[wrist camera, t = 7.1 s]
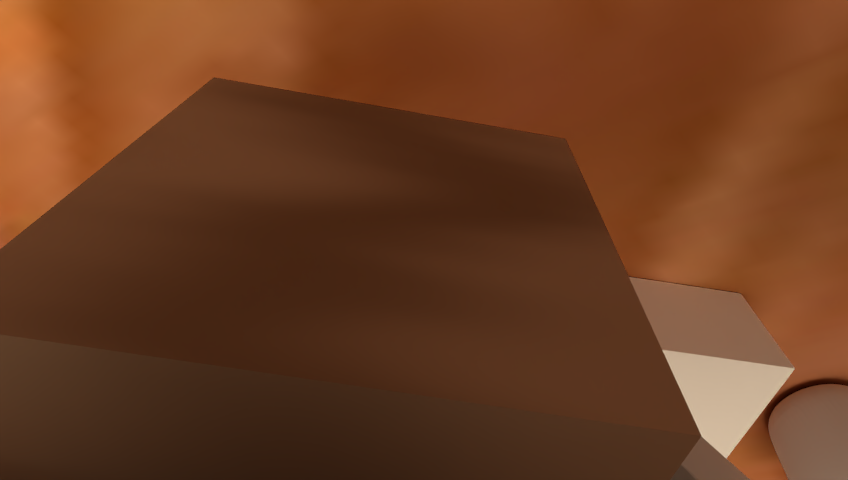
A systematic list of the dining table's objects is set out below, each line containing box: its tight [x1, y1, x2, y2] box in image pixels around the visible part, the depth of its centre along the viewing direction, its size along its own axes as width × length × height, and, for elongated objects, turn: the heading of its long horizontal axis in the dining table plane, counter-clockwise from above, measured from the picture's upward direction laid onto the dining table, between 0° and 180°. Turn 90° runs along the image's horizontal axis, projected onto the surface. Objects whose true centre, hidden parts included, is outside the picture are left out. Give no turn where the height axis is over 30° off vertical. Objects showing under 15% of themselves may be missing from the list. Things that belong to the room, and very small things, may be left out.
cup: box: [768, 384, 848, 480], centre depth 35 cm, size 11×8×8 cm
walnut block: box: [0, 78, 701, 480], centre depth 8 cm, size 6×6×6 cm
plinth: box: [629, 277, 795, 458], centre depth 33 cm, size 14×14×6 cm
